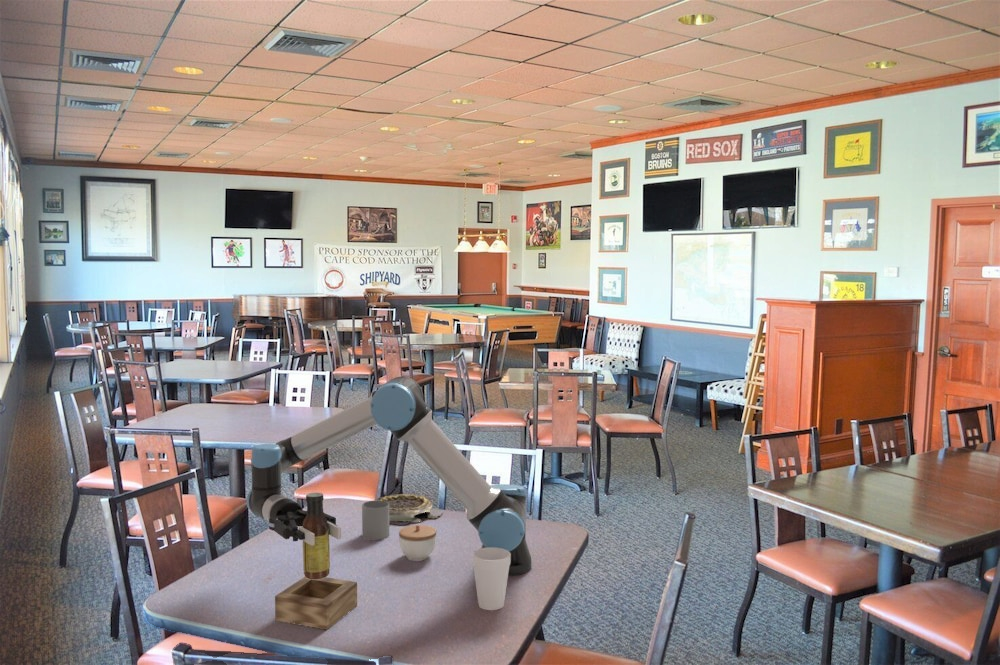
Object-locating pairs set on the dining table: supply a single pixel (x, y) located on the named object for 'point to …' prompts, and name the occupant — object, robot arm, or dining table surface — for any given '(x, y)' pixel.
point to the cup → (375, 520)
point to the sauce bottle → (316, 539)
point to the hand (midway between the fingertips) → (326, 536)
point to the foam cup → (491, 576)
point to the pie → (407, 507)
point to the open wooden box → (316, 602)
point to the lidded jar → (417, 541)
